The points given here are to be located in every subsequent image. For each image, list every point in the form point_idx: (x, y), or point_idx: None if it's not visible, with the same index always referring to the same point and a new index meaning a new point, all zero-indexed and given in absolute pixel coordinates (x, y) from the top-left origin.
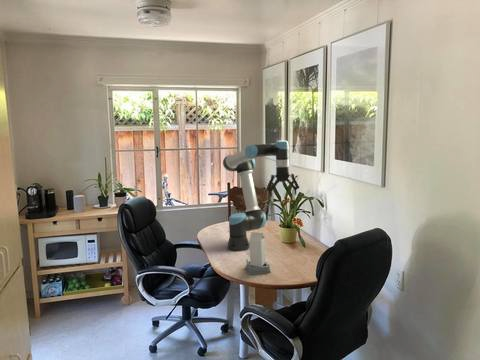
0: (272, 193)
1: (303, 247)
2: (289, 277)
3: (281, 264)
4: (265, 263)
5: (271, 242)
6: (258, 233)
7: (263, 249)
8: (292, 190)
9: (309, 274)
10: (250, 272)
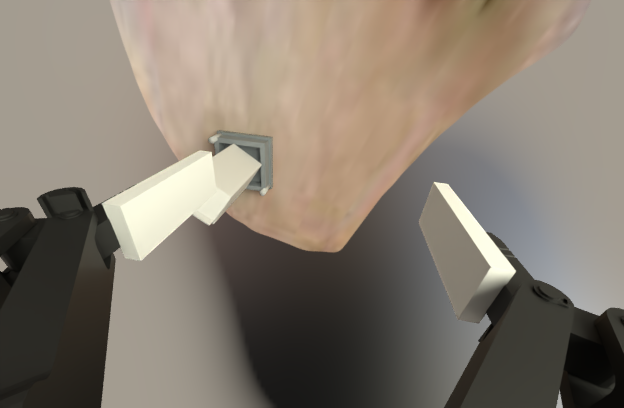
0: (152, 241)
1: (480, 4)
2: (303, 223)
3: (315, 150)
4: (261, 168)
5: None
6: (195, 213)
7: (237, 194)
8: (475, 263)
9: (351, 227)
10: None
